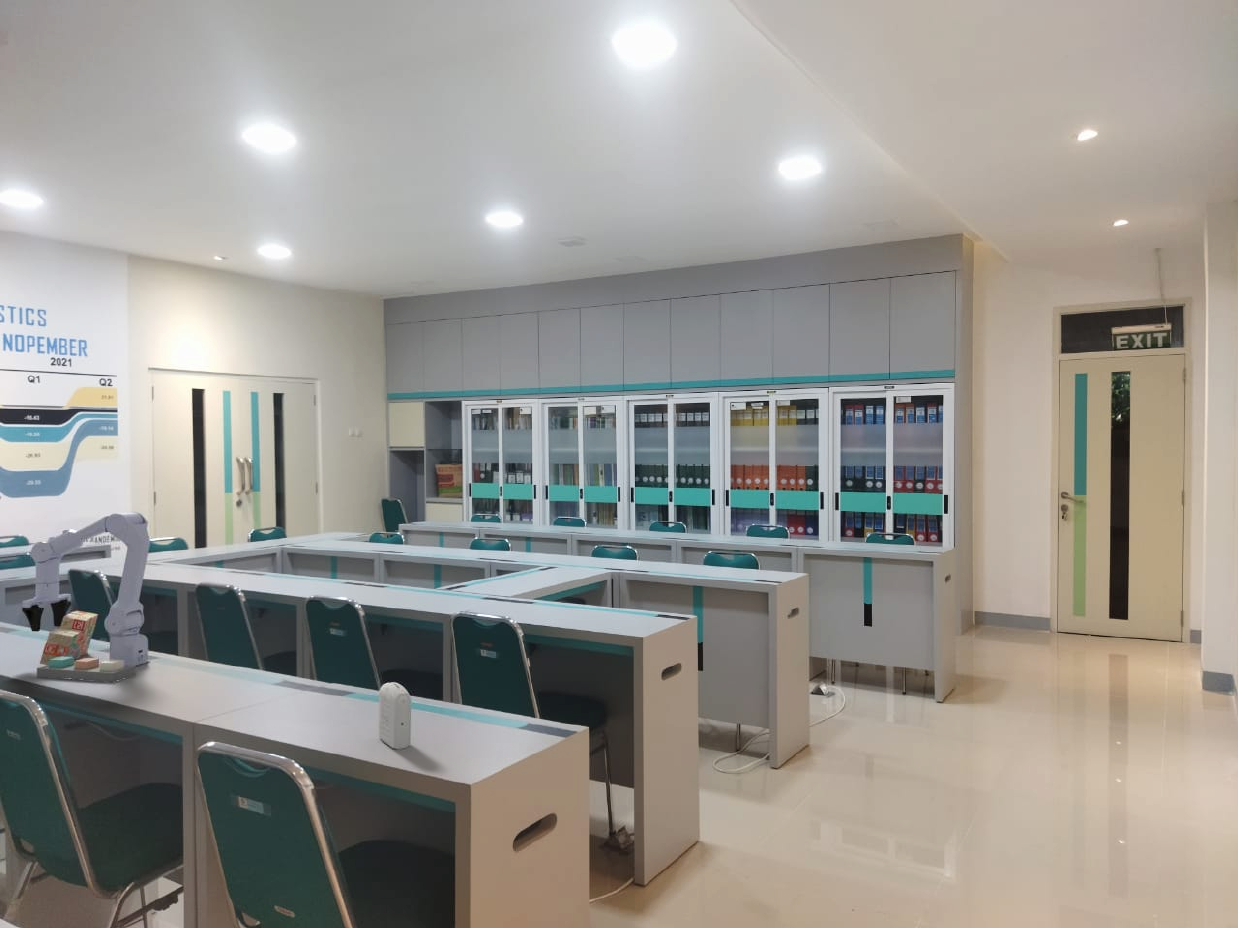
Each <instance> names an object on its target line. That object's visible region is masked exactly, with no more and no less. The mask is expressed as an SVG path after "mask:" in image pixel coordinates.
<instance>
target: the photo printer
mask: <svg viewBox="0 0 1238 928" xmlns="http://www.w3.org/2000/svg"><path fill="white" fill-rule="evenodd" d="M378 696H379V698H378V700H379V701H378V738H379V739H381V741H383V742H384V743H385V744H387V745H388V746H389V747H390V748H392V749H395V750H403V749H407V748H408V747H410V745H411V740H412V739H411V735H412V732H411V731H412V699H411V695H410V693H409V692H408V690H407V689H406V688H405V687H404V686H403V685H401V684H400V683H398V682H387V683H383V684H382V686H381V687H380V689H379V695H378Z"/></svg>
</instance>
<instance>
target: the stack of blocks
mask: <svg viewBox="0 0 1238 928" xmlns="http://www.w3.org/2000/svg"><path fill="white" fill-rule="evenodd" d="M98 616H99V614H97V613H93V612H87V611H80V610H75V611H71V612H70V613H68V614H66V615H65V616H64V617H63V620H62V623H61V626H60V627H57V628H56V629H53V630H51V631H49V634H48V637H47V639H46V642H45V644H44V647H43V651H42V654H41V657H40V661H39V664H40V665H43V666H47V665H49V661H50V659H54V658H58V657H61V656H63V657H74V661H76V660H78V659H79V658H80V656H81V657H82V656H84V655H86V654H88V651H89V647H90V643H91V640H92V637H93V633H94V631H95V627H96V623H97V620H98ZM85 653H86V654H85ZM83 654H84V655H83ZM78 657H79V658H78ZM75 659H76V660H75Z"/></svg>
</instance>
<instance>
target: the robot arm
mask: <svg viewBox="0 0 1238 928" xmlns="http://www.w3.org/2000/svg"><path fill="white" fill-rule="evenodd" d="M148 525H149V521H148V519H147V518H146V517H144V515H143V514H142V513H141V512H138V511H131V512H125V513H124V512H122V513H117V512H116V513H111V514H110V515H108V516H104V517H102V518H100V519H98V520H96V521H94V522H93V523H91V524H89V525H87V526H85V527H83V528H82V529H79V530H75V529H69V528H68V529H64V530H62V533H61V534H59V535H57V536H50V537H49V538H48V540H47V541H37V542H36V543H35V544H33V546H32V547H31V550H30V555H31V558H32V560H34V561H35V596H34V597H33V598H29V599H27V600H23V601H22V607H21V610H22V612H23V613H24V615H25V617H26V619H27V620H28V625H29V626H30V630H31V632H37V633H38V632H40V630H41V624H42V623H41V620H42V616H43V612H44V610H45V608H44V607H40V606H44V605H48V604H50V607H51V610H52V614H53V625H54V627H57V628H59V627H60V626H61V623H62V620H63V617H64V616H66V615H67V612H68V611H69V609H70V607H71V605H72V601H71V599H72V597H71V595H72V594H71V593H60V565H61V560H62V558H63V557H64V555H66V554H68V553H71V552H72V551H75V550H77V549H79V548H81V547H83V545H84V541H87V540H89V539H92V538H93V537H96V536H98V535H103V533H109V535H111V536H113V537H115V538H116V539H117V540H119V541H120V542H122V543H123V544H124V545H125V546H126V555H125V559H124V564H123V570H122V574H121V580H120V584H119V589H118V595H117V599H116V601H115V602H114V603H113V605H111V607H110V608H109V613H108V615H107V616H106V617H105V618H104V624H103V625H104V629H105V631H106V632H107V633H108V636H109V660H111V659H114V660H124V665H125V666H136V667H137V666H140V665H143V664H147V663H150V661H151V660H150V659H149V640H148V637H147V636H146V635H144V634H141V633H139V632H140V629H141V627H142V626H143V624H144V623H145V616H144V605H143V604H142V603H141V602H140V597H141V591H142V586H143V581H144V576H145V570H146V566H147V561H148V556H149V551H150V544H151V540H150V536H149V532H148Z"/></svg>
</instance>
